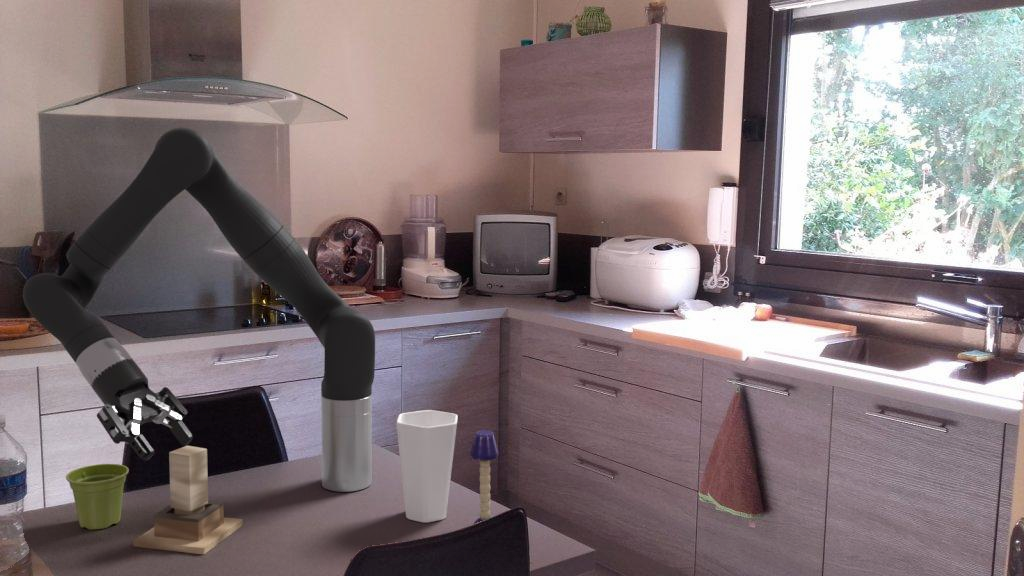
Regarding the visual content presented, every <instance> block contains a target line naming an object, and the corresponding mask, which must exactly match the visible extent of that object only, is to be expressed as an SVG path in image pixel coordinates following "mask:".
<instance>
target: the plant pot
mask: <svg viewBox="0 0 1024 576" xmlns="http://www.w3.org/2000/svg"><path fill="white" fill-rule="evenodd" d="M129 469H130V468H129V467H127V465H124V464H119V463H98V464H92V465H86V466H83V467H79V468H78V467H77V468H76V469H74V470H71V471H70V472H68V473H67V474H66V475H65V479H66V481H67V482H68V483H69V487H70V489H71V490H72V495H73V499H74V504H75V508H76V512H77V517H78V518H77V519H78V522H79V526H80V527H81V528H86V529H87V530H100V529H101V530H102V529H106V528H109V527H111V525H113V524H115V525H117V524H118V523H119V522H120V521H121V516H122V504H123V498H124V497H123V495H124V485H125V482H126V479H127V475H128V474H129V471H130V470H129Z"/></svg>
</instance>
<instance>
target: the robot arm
mask: <svg viewBox="0 0 1024 576" xmlns="http://www.w3.org/2000/svg"><path fill="white" fill-rule="evenodd" d="M183 191H186V192H187V193H188V194H190V195H191V196H192V198H194V199H195V201H197V202H198V203H199V204H200V205H201V207H203V208H204V210H205V211H206V212H207V213H208V214H209V216H210V217H211V219H212V221H214V223H215V225H216V226H217V227H218V229H219V231H220V232H221V234H222V235H223V236H224V237H225V239H226V241H227V242H228V244H229V245H230V246H231V248H232V249H234V251H235V253H237V255H238V256H239V257H240V258H241V259H242V260H243V261H244V263H245V264H246V265H247V266H248V267H249V268H250V269H251V270H252V271H253V272H254V274H256V275H257V276H258V277H259V278H260V279H261V280H262V281H263V282H264V283H265V284H266V285H267V286H268V287H270V289H272V290H273V291H274V292H275V293H277V294H278V295H279V296H280V297H281V298H283V299H284V300H285V301H287V302H288V303H289V304H290V305H291V306H292V307H293V308H294V309H295V311H297V313H298V314H299V315H300V316H301V317H302V319H303V321H305V322H306V324H307V325H308V326H309V329H311V330H312V333H314V335H315V336H316V338H317V340H319V342H320V344H321V345H322V347H323V348H324V368H323V369H324V373H323V378H322V381H321V383H320V384H321V388H320V391H321V393H320V394H321V395H320V397H321V398H320V400H321V401H320V402H321V406H320V408H321V409H320V410H321V487H323V488H324V489H326V490H329V491H333V492H341V493H342V492H344V493H345V492H356V491H360V490H364V489H366V488H368V487H370V486H371V485H372V481H373V480H372V464H373V463H372V459H373V457H372V455H373V454H372V453H373V452H372V451H373V450H372V447H373V445H372V444H373V443H372V442H373V441H372V440H373V439H372V433H373V432H372V427H373V425H372V422H373V420H372V419H373V417H372V416H373V415H372V413H373V411H372V409H373V408H372V406H373V405H372V404H373V402H372V400H373V399H372V397H373V396H372V394H373V393H372V391H373V390H372V389H373V388H372V387H373V383H374V378H375V367H376V364H375V363H376V333H375V329H374V325H373V324H372V322H371V321H370V319H369V318H367V316H365V315H364V314H362V313H361V312H359V311H358V310H356V309H355V308H354V307H352V306H350V305H349V304H348V303H347V302H346V301H345V299H343V298H342V297H340V295H338V294H337V292H335V291H334V290H333V289H332V288H331V287H330V285H328V284H327V283H326V282H325V280H324V279H323V277H322V276H321V275H320V274H319V273H320V272H318V270H317V268H316V266H315V265H314V263H313V262H312V261H311V259H310V257H309V255H307V253H306V251H305V250H304V249H303V247H302V246H301V245H300V243H299V242H298V241H297V240H296V238H295V237H294V236H293V234H291V233H290V231H289V230H288V229H287V228H286V227H285V226H284V225H283V223H281V221H280V220H278V218H277V217H275V215H273V213H271V212H270V211H269V210H268V209H267V208H266V207H265V206H264V205H263V204H262V203H261V202H260V201H259V200H257V199H256V198H255V197H254V196H253V195H251V193H250V192H248V191H247V190H246V189H245V188H244V187H243V186H242V185H241V184H240V183H239V182H238V181H237V180H236V179H235V177H234V176H233V175H232V173H230V172H229V170H228V168H226V166H225V164H224V163H223V162H222V161H221V159H220V158H219V156H218V155H217V154H216V152H215V151H214V149H213V148H212V146H211V144H210V142H209V141H208V139H207V138H206V137H205V136H204V135H203V134H202V133H200V132H199V131H198V130H195V129H192V128H189V127H176V128H172V129H169V130H168V131H166V132H164V133H163V134H162V135H161V136H160V137H159V139H158V140H157V142H156V144H155V146H154V149H153V151H152V153H151V155H150V157H148V159H147V161H146V162H145V164H144V166H143V168H142V169H141V170H140V172H139V173H138V175H136V177H135V178H134V179H133V181H132V182H131V183H130V185H128V186H127V187H126V189H125V190H124V191H123V192H122V193H121V194H120V195H119V196H118V197H117V198H116V199H115V200H114V201H113V202H112V203H111V204H110V205H109V206H108V207H107V208H105V210H104V211H102V212H101V213H100V215H99V216H97V218H95V220H94V221H92V223H90V225H88V227H87V228H86V229H85V230H84V231H83V232H82V233H81V234H80V236H79V237H78V238H76V240H75V241H74V242H73V243H72V245H70V247H69V248H68V250H67V252H66V255H65V256H66V259H67V261H68V263H69V265H68V267H67V268H66V270H65V271H64V273H63V274H62V275H61V276H60V275H59V274H58V275H57V274H55V273H52V272H51V273H48V272H42V273H41V272H40V273H37V274H34V275H33V276H31V277H30V278H29V279H28V280H27V281H26V282H25V284H24V286H23V289H22V299H23V303H24V305H25V307H26V309H27V311H28V312H29V314H30V315H31V316H32V317H33V318H34V319H35V320H36V321H37V322H38V323H39V324H40V325H41V326H42V327H43V328H44V329H45V330H46V331H47V332H49V333H50V334H51V335H52V336H53V337H54V338H56V339H57V340H58V341H59V342H60V343H61V345H62V346H63V348H64V350H65V352H66V353H68V355H69V356H70V357H71V359H72V361H74V363H75V364H76V366H77V367H78V370H79V371H80V373H81V375H82V377H83V378H84V379H85V380H86V383H88V385H89V386H90V387H91V389H92V391H94V393H95V394H96V395H97V397H98V398H99V400H101V402H102V404H103V407H102V408H100V410H99V411H98V412H97V414H96V417H97V419H98V421H99V422H100V423H101V425H102V426H103V428H104V429H105V432H106V433H107V434H108V436H109V437H110V439H111V440H112V442H113V443H114V444H117V445H118V444H120V443H121V442H122V443H125V444H127V445H129V446H130V447H131V448H132V449H133V451H134V452H135V454H136V455H137V457H139V458H140V459H142V460H143V461H144V462H145V461H148V460H150V459H151V458H152V457H153V456H154V455H155V449H154V448H153V447H152V446H151V445H150V443H149V442H148V440H147V439H146V438H145V436H144V435H143V434H142V433H141V434H140V426H142V425H144V424H147V423H152V422H153V423H154V424H157V425H160V424H162V425H164V426H166V427H168V428H169V429H170V432H171V433H172V434H173V435H174V437H175V438H176V439H177V441H178V442H179V443H180V445H181V446H182V447H185V446H189V444H190V443H191V442H192V441H193V437H194V436H193V434H192V433H191V431H190V429H189V428H188V427H187V426H186V424H185V423H184V422H183V418H185V417H186V415H187V414H188V410H187V409H186V408H185V406H183V404H182V403H181V402H180V401H179V399H178V398H177V397H176V395H175V394H174V393H173V391H172V390H170V389H169V388H168V387H166V386H164V387H162V389H160V390H159V391H158V392H157V391H156V392H154V391H153V390H151V389H150V388H149V379H148V377H147V375H146V374H145V372H143V370H142V369H141V368H140V366H138V364H137V363H136V361H135V360H134V358H133V357H132V356H131V355H130V354H129V351H127V350H126V348H125V347H124V346H123V345H122V344H121V343H120V342H119V341H118V340H117V339H116V338H115V337H114V335H113V333H111V331H110V330H109V329H108V327H107V325H105V323H104V322H103V321H102V320H101V319H100V318H99V317H98V316H97V315H94V314H92V313H90V312H89V311H88V310H86V309H87V307H88V305H90V303H91V301H92V300H93V298H94V296H95V294H96V293H97V291H98V289H99V287H100V286H101V284H102V283H103V279H104V277H105V276H106V274H107V273H108V272H109V271H110V270H112V268H113V267H114V266H115V265H116V264H117V263H118V262H119V260H121V258H122V257H123V256H124V255H125V254H126V253H127V252H128V251H129V249H130V248H131V247H132V246H133V244H134V243H135V242H136V241H137V240H138V238H139V237H140V235H142V233H143V232H144V231H145V230H146V229H147V227H148V226H149V225H150V223H151V222H152V221H153V220H154V219H155V217H157V216H158V214H159V213H161V211H162V210H163V209H164V208H165V207H166V206H167V205H168V204H170V203H171V201H172V200H173V199H175V198H176V197H177V196H179V195H180V194H181V193H183ZM175 409H176V410H177V411H176V410H175ZM159 411H161V412H160V413H159ZM167 417H169V418H167Z"/></svg>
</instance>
